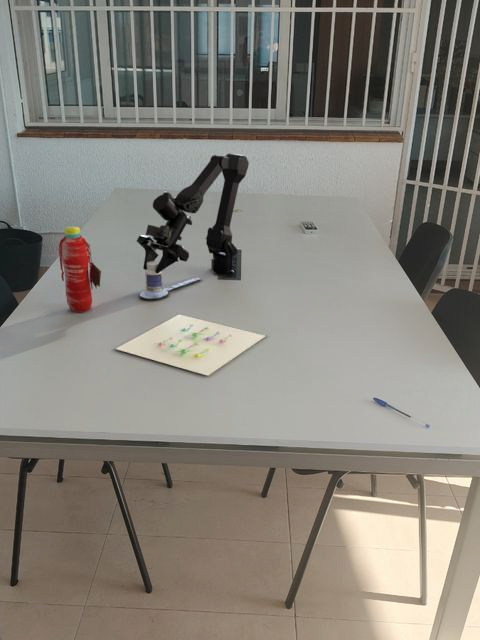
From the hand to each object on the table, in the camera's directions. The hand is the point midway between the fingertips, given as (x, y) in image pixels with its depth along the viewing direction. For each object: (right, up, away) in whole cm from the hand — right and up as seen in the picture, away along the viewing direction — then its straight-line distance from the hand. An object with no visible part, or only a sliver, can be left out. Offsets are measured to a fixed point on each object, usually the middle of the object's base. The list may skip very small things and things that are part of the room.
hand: (150, 271), depth 221 cm
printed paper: (+15, -26, -27) cm, 40 cm away
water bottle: (-19, -13, -5) cm, 24 cm away
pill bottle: (+1, -5, +4) cm, 7 cm away
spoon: (+6, -4, +11) cm, 13 cm away
